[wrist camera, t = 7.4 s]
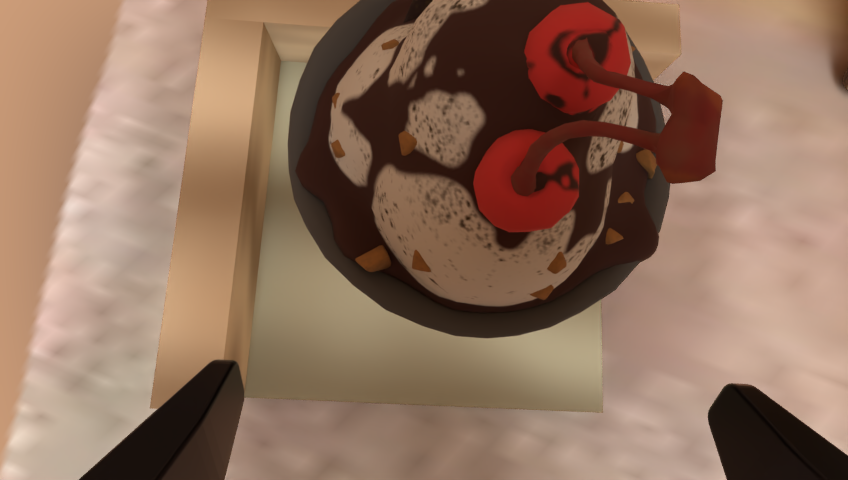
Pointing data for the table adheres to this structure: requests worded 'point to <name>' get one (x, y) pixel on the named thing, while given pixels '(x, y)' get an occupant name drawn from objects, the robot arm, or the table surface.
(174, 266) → the corner tray
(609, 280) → the sundae
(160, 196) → the table surface
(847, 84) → the tabletop clock
